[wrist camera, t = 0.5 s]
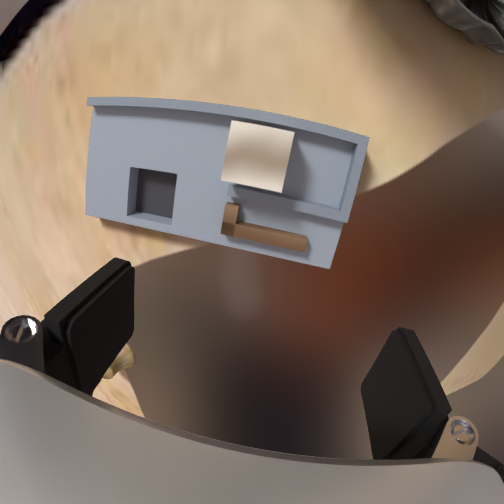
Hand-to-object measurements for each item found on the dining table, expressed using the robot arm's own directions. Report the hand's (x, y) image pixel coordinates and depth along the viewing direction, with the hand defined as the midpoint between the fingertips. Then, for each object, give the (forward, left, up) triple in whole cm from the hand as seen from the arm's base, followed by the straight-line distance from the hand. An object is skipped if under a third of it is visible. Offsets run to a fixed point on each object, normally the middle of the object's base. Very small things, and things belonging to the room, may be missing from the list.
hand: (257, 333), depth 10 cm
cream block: (-4, -3, -23) cm, 23 cm away
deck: (-1, -8, -25) cm, 26 cm away
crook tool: (+4, -1, -23) cm, 23 cm away
